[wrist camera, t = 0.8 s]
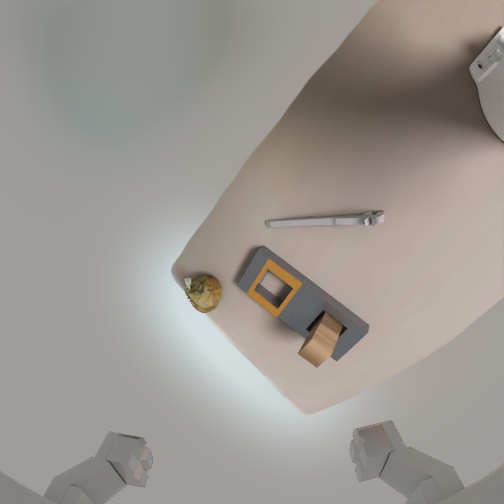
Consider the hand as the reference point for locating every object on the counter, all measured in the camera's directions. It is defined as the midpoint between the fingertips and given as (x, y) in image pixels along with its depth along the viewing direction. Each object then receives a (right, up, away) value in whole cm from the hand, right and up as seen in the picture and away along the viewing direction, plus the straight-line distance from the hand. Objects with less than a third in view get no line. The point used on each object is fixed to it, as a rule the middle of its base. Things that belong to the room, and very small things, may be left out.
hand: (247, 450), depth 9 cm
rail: (+10, -2, +42) cm, 44 cm away
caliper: (+12, +13, +36) cm, 40 cm away
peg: (+14, -5, +41) cm, 44 cm away
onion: (-8, 0, +52) cm, 52 cm away
